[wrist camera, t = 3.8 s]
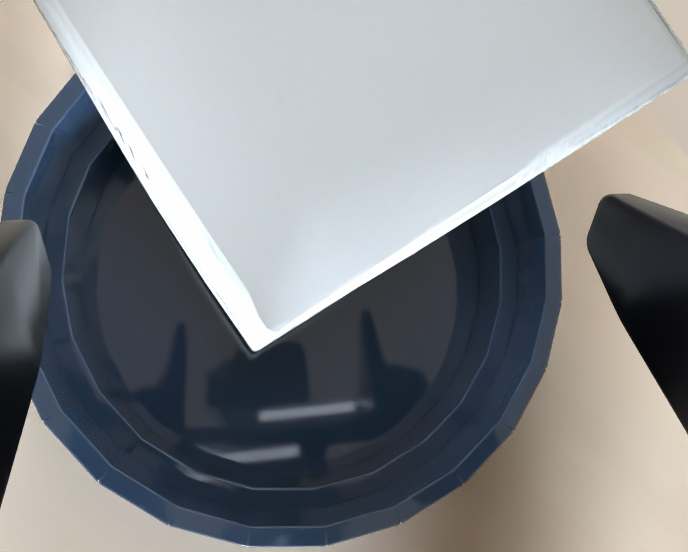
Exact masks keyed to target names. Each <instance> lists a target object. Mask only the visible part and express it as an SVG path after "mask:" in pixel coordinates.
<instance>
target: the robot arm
mask: <svg viewBox="0 0 688 552" xmlns="http://www.w3.org/2000/svg"><path fill="white" fill-rule="evenodd" d="M587 247H588V251H589V253H590V255H591V257H592V260H593V262H594V264H595V266H596V268H597V271H598V273H599V275H600V277H601V280H602V282H603V284H604V286H605V288H606V291H607V293H608V295H609V297H610V299H611V302H612V304H613V306H614V308H615V310H616V312H617V314H618V316H619V318H620V320H621V322H622V324H623V326H624V327H625V329H626V331H627V333H628V334H629V336H630V338H631V339H632V341H633V343H634V344H635V346H636V348H637V350H638V351H639V353H640V355H641V356H642V358H643V360H644V361H645V363H646V365H647V366H648V368H649V370H650V371H651V373H652V375H653V377H654V378H655V380H656V382H657V383H658V385H659V387H660V388H661V390H662V392H663V393H664V395H665V397H666V398H667V400H668V402H669V404H670V405H671V407H672V409H673V410H674V412H675V414H676V415H677V417H678V419H679V420H680V422H681V424H682V425H683V427H684V429H685V431H686V432H687V434H688V214H685V213H682V212H679V211H676V210H674V209H671V208H668V207H665V206H662V205H659V204H657V203H654V202H651V201H648V200H645V199H643V198H640V197H637V196H634V195H631V194H610V195H606V196H605V197H603V198H602V199H601V201H600V203H599V205H598V208H597V210H596V213H595V216H594V219H593V222H592V224H591V227H590V230H589V233H588V236H587ZM51 286H52V271H51V266H50V262H49V259H48V256H47V252H46V249H45V246H44V242H43V239H42V236H41V232H40V229H39V227H38V225H37V224H36V223H35V222H34V221H32V220H11V221H3V222H1V223H0V508H1V504H2V501H3V497H4V494H5V490H6V486H7V483H8V479H9V476H10V472H11V469H12V465H13V462H14V458H15V455H16V451H17V448H18V444H19V441H20V437H21V434H22V430H23V427H24V423H25V420H26V416H27V412H28V409H29V405H30V402H31V398H32V395H33V391H34V388H35V384H36V381H37V377H38V373H39V369H40V363H41V357H42V351H43V344H44V336H45V329H46V322H47V315H48V307H49V300H50V293H51Z"/></svg>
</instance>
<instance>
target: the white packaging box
mask: <svg viewBox="0 0 688 552" xmlns="http://www.w3.org/2000/svg"><path fill="white" fill-rule="evenodd" d="M33 1H34V2H35V4H36V6H37V7H38V9H39V11H40V13H41V14H42V16H43V18H44V19H45V21H46V23H47V25H48V26H49V28H50V30H51V31H52V33H53V35H54V36H55V38H56V40H57V42H58V43H59V45H60V47H61V48H62V50H63V52H64V53H65V55H66V57H67V59H68V60H69V62H70V64H71V65H72V67H73V69H74V70H75V72H76V74H77V75H78V77H79V79H80V81H81V82H82V84H83V86H84V87H85V89H86V91H87V92H88V94H89V96H90V98H91V99H92V101H93V103H94V104H95V106H96V108H97V109H98V111H99V113H100V115H101V116H102V118H103V120H104V121H105V123H106V125H107V126H108V128H109V130H110V131H111V133H112V135H113V137H114V138H115V140H116V142H117V144H118V145H119V147H120V149H121V150H122V152H123V154H124V155H125V157H126V159H127V160H128V162H129V164H130V165H131V167H132V169H133V170H134V172H135V173H136V175H137V177H138V178H139V180H140V182H141V183H142V185H143V187H144V188H145V190H146V191H147V193H148V195H149V196H150V198H151V200H152V201H153V203H154V204H155V206H156V207H157V209H158V211H159V212H160V214H161V215H162V217H163V218H164V220H165V221H166V223H167V224H168V226H169V228H170V229H171V231H172V232H173V234H174V235H175V237H176V238H177V240H178V241H179V243H180V244H181V246H182V247H183V249H184V250H185V252H186V254H187V255H188V257H189V258H190V260H191V261H192V263H193V264H194V266H195V267H196V269H197V270H198V272H199V273H200V275H201V276H202V278H203V280H204V281H205V283H206V284H207V286H208V287H209V288H210V290H211V291H212V293H213V294H214V296H215V297H216V299H217V300H218V301H219V303H220V304H221V306H222V307H223V309H224V310H225V312H226V313H227V315H228V316H229V318H230V319H231V321H232V322H233V323H234V325H235V326H236V328H237V329H238V331H239V332H240V334H241V336H242V337H243V339H244V340H245V342H246V344H247V345H248V347H249V348H250V350H251V351H252V352H258V351H260V350H261V349H263V348H264V347H266V346H267V345H269V344H271V343H272V342H274V341H275V340H277V339H278V338H280V337H281V336H283V335H285V334H286V333H288V332H289V331H291V330H292V329H294V328H295V327H297V326H299V325H300V324H302V323H303V322H305V321H306V320H308V319H309V318H311V317H313V316H314V315H316V314H317V313H319V312H320V311H322V310H323V309H325V308H326V307H328V306H330V305H331V304H333V303H334V302H336V301H337V300H339V299H340V298H342V297H343V296H345V295H347V294H348V293H350V292H351V291H353V290H354V289H356V288H357V287H359V286H361V285H362V284H364V283H366V282H367V281H369V280H371V279H372V278H374V277H376V276H377V275H379V274H381V273H382V272H384V271H386V270H387V269H389V268H391V267H392V266H394V265H396V264H397V263H399V262H400V261H402V260H404V259H405V258H407V257H409V256H411V255H412V254H414V253H416V252H417V251H418V250H420V249H422V248H423V247H425V246H426V245H428V244H430V243H431V242H433V241H435V240H436V239H438V238H439V237H441V236H443V235H444V234H446V233H447V232H449V231H451V230H452V229H454V228H455V227H457V226H458V225H460V224H462V223H463V222H465V221H466V220H468V219H470V218H471V217H473V216H474V215H476V214H478V213H479V212H481V211H482V210H484V209H486V208H487V207H489V206H490V205H492V204H493V203H495V202H497V201H498V200H500V199H501V198H503V197H504V196H506V195H508V194H509V193H511V192H512V191H514V190H515V189H517V188H518V187H520V186H522V185H523V184H525V183H526V182H528V181H529V180H531V179H532V178H534V177H535V176H537V175H539V174H540V173H542V172H543V171H545V170H546V169H548V168H549V167H551V166H552V165H554V164H555V163H557V162H559V161H560V160H562V159H563V158H565V157H566V156H568V155H569V154H571V153H573V152H574V151H576V150H577V149H579V148H580V147H582V146H583V145H585V144H586V143H588V142H590V141H591V140H593V139H594V138H596V137H597V136H599V135H600V134H602V133H603V132H605V131H607V130H608V129H610V128H611V127H613V126H614V125H616V124H617V123H619V122H620V121H622V120H624V119H625V118H627V117H628V116H630V115H631V114H633V113H634V112H636V111H637V110H639V109H641V108H642V107H644V106H645V105H647V104H648V103H650V102H652V101H653V100H655V99H656V98H658V97H659V96H661V95H662V94H664V93H665V92H667V91H669V90H670V89H672V88H673V87H675V86H677V85H678V84H680V83H681V82H683V81H684V80H685V79H686V78H687V77H688V54H687V52H686V50H685V48H684V46H683V44H682V43H681V41H680V40H679V38H678V37H677V36H676V35H675V33H674V32H673V30H672V29H671V27H670V26H669V24H668V23H667V22H666V20H665V18H664V17H663V16H662V14H661V12H660V11H659V9H658V8H657V7H656V5H655V4H654V3H653V1H652V0H33Z"/></svg>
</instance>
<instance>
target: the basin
mask: <svg viewBox="0 0 688 552" xmlns="http://www.w3.org/2000/svg"><path fill="white" fill-rule="evenodd" d="M36 122H37V123H35V124H34V126H33V129H32V131H31V133H30V136H29V138H28V140H27V142H26V145H25V147H24V149H23V151H22V154H21V156H20V158H19V161H18V163H17V165H16V167H15V170H14V172H13V174H12V177H11V179H10V181H9V183H8V186H7V188H6V192H7V193H5V194H4V202H3V210H2V218H1V222H3V221H11V220H32V221H34V222H35V223H36V224H37V225H38V227H39V229H40V232H41V236H42V239H43V242H44V246H45V249H46V252H47V256H48V259H49V262H50V266H51V271H52V286H51V293H50V300H49V307H48V315H47V322H46V329H45V336H44V344H43V351H42V357H41V363H40V369H39V373H38V377H37V381H36V384H35V388H34V391H33V395H32V398H31V399H32V401H33V403H34V405H35V407H36V409H37V411H38V413H39V415H40V417H41V419H42V420H43V421H44V424H45V425H46V426H47V427H48V428H49V429H50V430H51V432H52V433H53V434H54V435H55V436H56V437H57V438H58V439H59V440H60V441H61V443H62V444H63V445H64V446H65V447H66V448H67V449H68V450H69V451H70V453H71V454H72V455H73V456H74V457H75V458H76V459H77V460H78V461H79V462H80V464H81V465H82V466H83V467H84V468H85V469H86V470H87V471H88V472H89V473H90V475H91V476H92V477H93V478H94V479H95V480H96V481H97V482H99V483H100V485H102V486H104V487H105V488H107V489H109V490H110V491H112V492H114V493H115V494H117V495H118V496H120V497H122V498H123V499H125V500H127V501H128V502H130V503H132V504H133V505H135V506H136V507H138V508H140V509H141V510H143V511H145V512H146V513H148V514H150V515H151V516H153V517H155V518H156V519H158V520H159V521H161V522H163V523H164V524H166V525H170V526H171V527H175V528H178V529H182V530H185V531H189V532H193V533H196V534H200V535H204V536H207V537H211V538H215V539H218V540H222V541H226V542H229V543H233V544H237V545H240V546H244V547H245V546H248V547H310V546H326V545H328V546H329V545H333V544H336V543H339V542H343V541H346V540H350V539H353V538H356V537H360V536H363V535H367V534H370V533H373V532H377V531H380V530H383V529H387V528H390V527H394V526H397V525H399V524H400V523H404V522H405V521H407V520H409V519H410V518H412V517H413V516H415V515H417V514H418V513H420V512H421V511H423V510H425V509H426V508H428V507H429V506H431V505H433V504H434V503H436V502H437V501H439V500H441V499H442V498H444V497H445V496H447V495H449V494H450V493H452V492H453V491H455V490H457V489H458V488H460V487H461V486H463V483H464V484H465V483H466V482H467V481H468V480H469V479H470V478H471V477H472V476H473V475H474V474H475V473H476V471H477V470H478V469H479V468H480V467H481V466H482V465H483V464H484V463H485V462H486V461H487V460H488V458H489V457H490V456H491V455H492V454H493V453H494V452H495V451H496V450H497V449H498V448H499V447H500V445H501V444H502V443H503V442H504V441H505V440H506V439H507V438H508V437H509V436H510V435H511V434H512V432H513V431H512V430H514V429H515V428H516V426H517V424H518V422H519V420H520V418H521V416H522V414H523V412H524V411H525V409H526V407H527V405H528V403H529V401H530V399H531V397H532V395H533V393H534V391H535V390H536V388H537V386H538V384H539V382H540V380H541V378H542V376H543V374H544V372H545V370H546V369H545V368H546V367H547V364H548V360H549V355H550V351H551V347H552V342H553V338H554V334H555V329H556V325H557V321H558V316H559V312H560V308H561V301H562V285H561V240H560V235H559V234H560V231H559V227H558V224H557V220H556V216H555V213H554V209H553V205H552V201H551V198H550V194H549V190H548V187H547V183H546V179H545V176H544V172H542V173H540V174H539V175H537V176H535V177H534V178H532V179H531V180H529V181H528V182H526V183H525V184H523V185H522V186H520V187H518V188H517V189H515V190H514V191H512V192H511V193H509V194H508V195H506V196H504V197H503V198H501V199H500V200H498V201H497V202H495V203H493V204H492V205H490V206H489V207H487V208H486V209H484V210H482V211H481V212H479V213H478V214H476V215H474V216H473V217H471V218H470V219H468V220H466V221H465V222H463V223H462V224H460V225H458V226H457V227H455V228H454V229H452V230H451V231H449V232H447V233H446V234H444V235H443V236H441V237H439V238H438V239H436V240H435V241H433V242H431V243H430V244H428V245H426V246H425V247H423V248H422V249H420V250H418V251H417V252H416V253H414V254H412V255H411V256H409V257H407V258H405V259H404V260H402V261H400V262H399V263H397V264H396V265H394V266H392V267H391V268H389V269H387V270H386V271H384V272H382V273H381V274H379V275H377V276H376V277H374V278H372V279H371V280H369V281H367V282H366V283H364V284H362V285H361V286H359V287H357V288H356V289H354V290H353V291H351V292H350V293H348V294H347V295H345V296H343V297H342V298H340V299H339V300H337V301H336V302H334V303H333V304H331V305H330V306H328V307H326V308H325V309H323V310H322V311H320V312H319V313H317V314H316V315H314V316H313V317H311V318H309V319H308V320H306V321H305V322H303V323H302V324H300V325H299V326H297V327H295V328H294V329H292V330H291V331H289V332H288V333H286V334H285V335H283V336H281V337H280V338H278V339H277V340H275V341H274V342H272V343H271V344H269V345H267V346H266V347H264V348H263V349H261V350H260V351H258V352H252V351H251V350H250V348H249V347H248V345H247V344H246V342H245V340H244V339H243V337H242V336H241V334H240V332H239V331H238V329H237V328H236V326H235V325H234V323H233V322H232V321H231V319H230V318H229V316H228V315H227V313H226V312H225V310H224V309H223V307H222V306H221V304H220V303H219V301H218V300H217V299H216V297H215V296H214V294H213V293H212V291H211V290H210V288H209V287H208V286H207V284H206V283H205V281H204V280H203V278H202V276H201V275H200V273H199V272H198V270H197V269H196V267H195V266H194V264H193V263H192V261H191V260H190V258H189V257H188V255H187V254H186V252H185V250H184V249H183V247H182V246H181V244H180V243H179V241H178V240H177V238H176V237H175V235H174V234H173V232H172V231H171V229H170V228H169V226H168V224H167V223H166V221H165V220H164V218H163V217H162V215H161V214H160V212H159V211H158V209H157V207H156V206H155V204H154V203H153V201H152V200H151V198H150V196H149V195H148V193H147V191H146V190H145V188H144V187H143V185H142V183H141V182H140V180H139V178H138V177H137V175H136V173H135V172H134V170H133V169H132V167H131V165H130V164H129V162H128V160H127V159H126V157H125V155H124V154H123V152H122V150H121V149H120V147H119V145H118V144H117V142H116V140H115V138H114V137H113V135H112V133H111V131H110V130H109V128H108V126H107V125H106V123H105V121H104V120H103V118H102V116H101V115H100V113H99V111H98V109H97V108H96V106H95V104H94V103H93V101H92V99H91V98H90V96H89V94H88V92H87V91H86V89H85V87H84V86H83V84H82V82H81V81H80V79H79V77H78V75H77V74H76V73H75V74H74V75H73V77H72V78H71V79H70V80H69V82H68V83H67V84H66V85H65V86H64V88H63V89H62V90H61V91H60V92H59V94H58V95H57V96H56V97H55V99H54V100H53V101H52V102H51V103H50V105H49V106H48V107H47V108H46V109H45V111H44V112H43V113H42V114H41V115H40V117H39V118H38V119H37V120H36Z"/></svg>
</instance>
